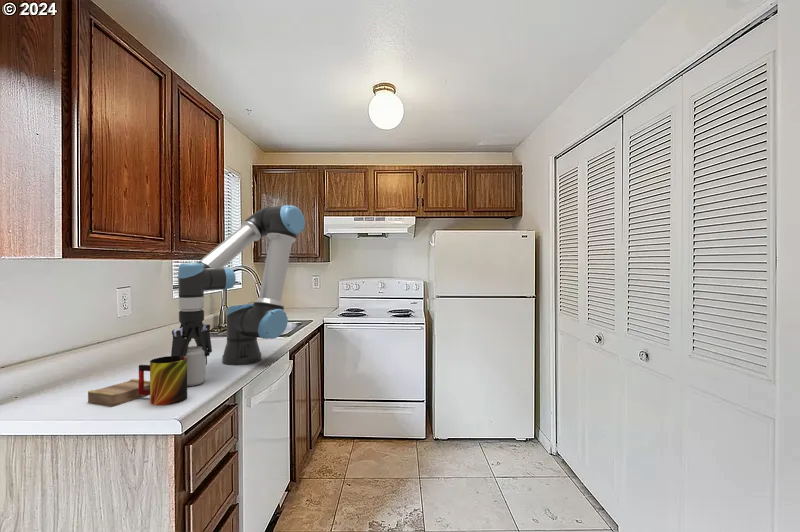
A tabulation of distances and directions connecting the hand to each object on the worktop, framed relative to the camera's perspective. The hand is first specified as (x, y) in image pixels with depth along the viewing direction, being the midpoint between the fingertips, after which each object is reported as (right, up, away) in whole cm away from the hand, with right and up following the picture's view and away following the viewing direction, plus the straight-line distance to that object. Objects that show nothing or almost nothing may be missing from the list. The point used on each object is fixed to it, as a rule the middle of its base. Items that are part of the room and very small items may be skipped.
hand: (192, 378), depth 145 cm
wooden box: (-14, -2, -14) cm, 20 cm away
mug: (-1, -2, -17) cm, 17 cm away
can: (0, -2, 0) cm, 2 cm away
